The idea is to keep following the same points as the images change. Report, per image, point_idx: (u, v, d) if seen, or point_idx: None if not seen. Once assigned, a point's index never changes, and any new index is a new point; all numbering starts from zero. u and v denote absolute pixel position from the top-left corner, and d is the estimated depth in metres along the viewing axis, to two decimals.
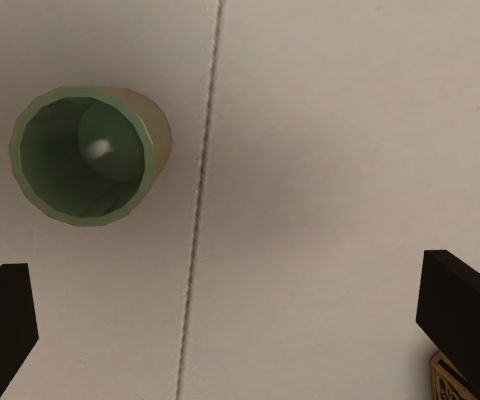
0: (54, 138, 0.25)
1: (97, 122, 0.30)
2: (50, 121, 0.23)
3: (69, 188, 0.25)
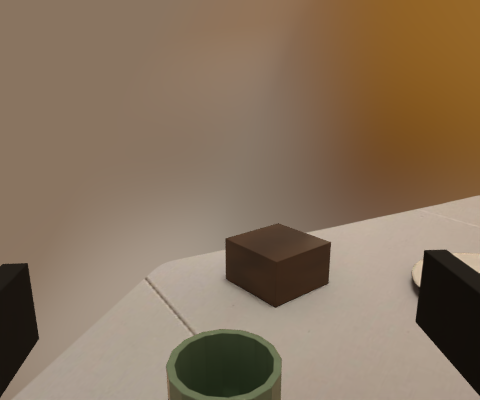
0: None
1: None
2: None
3: None
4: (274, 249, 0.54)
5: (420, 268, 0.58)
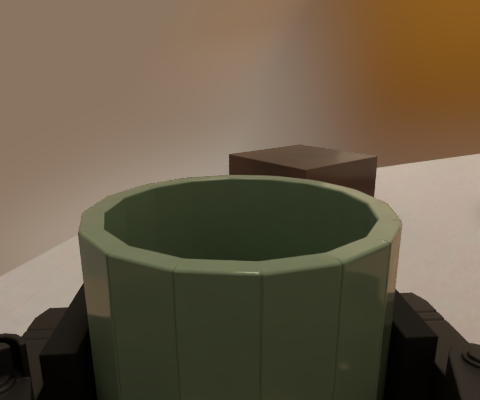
0: None
1: None
2: None
3: None
4: (298, 160, 0.38)
5: None
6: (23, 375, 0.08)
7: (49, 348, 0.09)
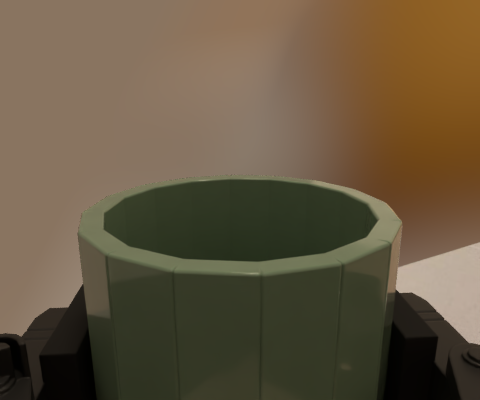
0: None
1: None
2: None
3: None
4: None
5: None
6: (23, 375, 0.08)
7: (49, 348, 0.09)
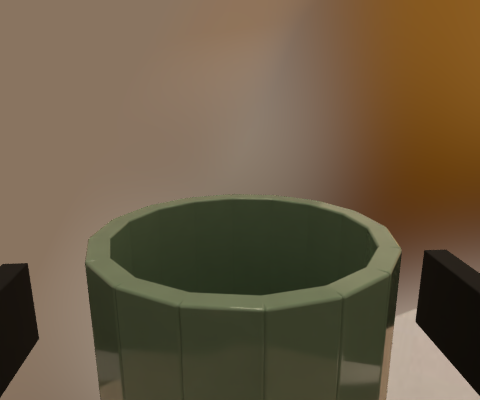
0: None
1: None
2: None
3: None
4: None
5: None
6: None
7: None
